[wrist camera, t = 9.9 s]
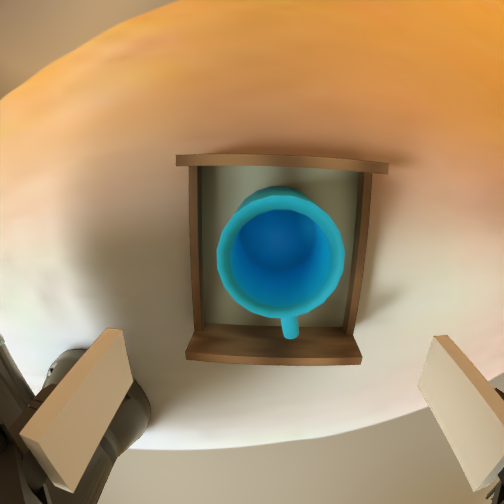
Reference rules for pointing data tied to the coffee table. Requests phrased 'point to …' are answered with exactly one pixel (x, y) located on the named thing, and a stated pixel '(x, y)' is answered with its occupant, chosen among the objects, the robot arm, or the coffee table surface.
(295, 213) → the mug
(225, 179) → the tray
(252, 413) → the coffee table surface
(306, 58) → the coffee table surface
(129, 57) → the coffee table surface
